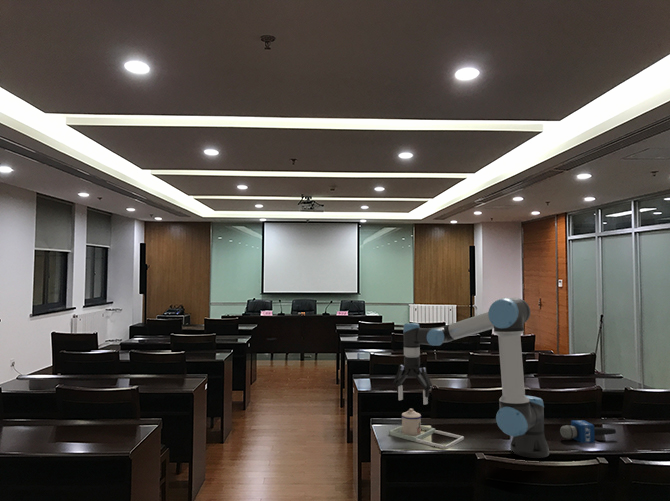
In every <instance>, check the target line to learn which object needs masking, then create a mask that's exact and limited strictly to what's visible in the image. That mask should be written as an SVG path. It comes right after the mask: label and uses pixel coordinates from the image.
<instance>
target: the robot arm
mask: <svg viewBox="0 0 670 501" xmlns="http://www.w3.org/2000/svg"><path fill="white" fill-rule="evenodd" d="M530 317H531V308H530V306H529V304H528V303H527V302H526V301H525V300H523V299H521V298H519V297H518V298H517V297H511V298H508V297H507V298H506V297H504V298H500V299H497V300H495V301H493V302H492V303H491V305H490V306H489V308H488V311H486V312H484V313H480V314H478V315H475V316H472V317H468V318H465V319H462V320H459V321H456V322H453V323H450V324H447V325H443V326H439V327H431V328H430V327H427V328H426V327H425V328H424V327H423V328H422V327H420V324H419V323H418V322H417V323H416V322H410V323H409V322H408V323H404V324H403V332H402V334H403V364H400V365H398V368H397V369H398V370H397V372H396V374H395V377H394V380H393V382H392V384H393V385H396V392H397V394H398V395H397V396H398V399H397V400H398V401H402V400H404V390H403V389H404V386H403V385H402V384H403V383H404V382H405V380H406V379H407V377H412V378H413V377H415V378H416V379H417V380H418V382H419V383H420V384H421V386H422V388H423V390H422V398H423V399H422V400H423V401H422V402H423V405H428V404H429V401H428V400H429V397H430V390H431V389H433V388H434V387H433V383H432V381H431V379H430V377H429V375H428V374H429V373H428V372H427V368H426V367H421V357H420V356H421V352H420V351H421V349H420V348H421V346H420V345H426V346H433V347H434V346H439V347H440V346H441V345H442V344H444V343H450V342H452V341H455V340H458V339H461V338H465V337H469V336H473V335H475V334H479V333H482V332H486V331H490V330H492V329H493V332H494V334H496V335H497V336H498V350H499V363H500V364H499V365H500V375H501V376H500V377H501V390H502V391H501V392H502V395H501V397H500V398H499V399H498V403H499V409H498V411H497V413H496V416H495V421H496V423H497V424H496V425H497V426H498V428H499V429H500V430H501V431H502V432H503V433H504V434H506V435H507V436H509V437H512V438H511V441H510V445H509V446H510V447H509V448H510V449H511V450H510V452H512V451H513V452H514V453H513V452H512V453H513V454H515V455H518V456H520V457H524V458H530V459H543V458H547V457H548V456H549V455H550V450H549V445H548V443H547V439H546V437H545V413H544V408H545V405H544V401H543V399H542V398H541V397H537V396H532V395H526V389H525V378H524V366H523V365H524V363H523V353H522V352H523V351H522V342H521V336H522V334H523V333H524V332H525V327H524V324H526V322H528V321H529V319H530ZM403 372H404V373H403Z"/></svg>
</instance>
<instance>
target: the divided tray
mask: <svg viewBox="0 0 670 501" xmlns="http://www.w3.org/2000/svg"><path fill="white" fill-rule="evenodd" d="M421 429H422V430H421V431H425V430H427V431H425V432H423V433H421V434H420V435H418V436H416V437H414V436H410V435H406V434H402V432H401V431H402V425H400V426H398V427H395V428H392V429H390V430H389V431H388V436H392V437H396V438H400V439H404V440H408V441H412V442H415V443H419V444H424V445H426V446H430V447H434V446H435V447H434V448H438V447H440V448H439V449H442V448H445V449H444V450H447V449H449V448H451V447H452V446H454V445H456V444H458V443H460V442H462V441H463V440H465V436H463V435H459V434H455V433H451V432H447V431H442V430H436V428H434V427H429V426H425V425H422V424H421ZM433 434H438V435H442V436H446V437H450V438H453V439H454V438H455V440H453V441H451V442H450V443H448V444H446V445H443V444H440V443H436V442H431V441H429V440H424V438H427V437H428V436H431V435H433ZM446 448H447V449H446Z"/></svg>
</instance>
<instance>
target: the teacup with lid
mask: <svg viewBox="0 0 670 501" xmlns="http://www.w3.org/2000/svg"><path fill="white" fill-rule="evenodd" d="M421 418H422V415H421V413H419V412H416V411H415V410H414V408H409V409H408V410H407V411H405V412H402V413H401V426H402V430H401V431H402V432H401V433H402V434H406V435H410V436H414V437H416V436H418V435H420V434H422V430H421V425H422V423H421V421H422V420H421Z"/></svg>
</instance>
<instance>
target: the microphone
mask: <svg viewBox="0 0 670 501" xmlns="http://www.w3.org/2000/svg"><path fill="white" fill-rule="evenodd" d="M559 432H560V435H561V437H562V438H565V439H568V440H571V439H573V440H575V441H577V442H579V443H580V444H591V443H592V444H593V443H595V436H605V435H606V436H607V435H613V434H617V431H616V429H615V428H612V427H595V425H594V424H593V423H591V422H588V421H587V420H583V419H581V420H577V419H576V420H575V419H574V420H570V425H569V424H566V425H562V426H561V427H560V429H559Z"/></svg>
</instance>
